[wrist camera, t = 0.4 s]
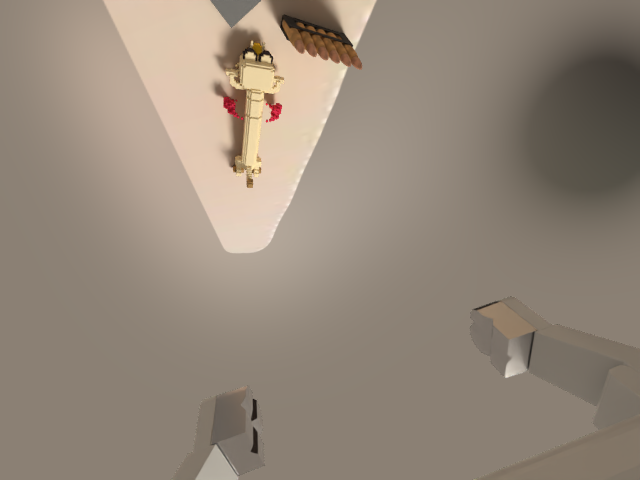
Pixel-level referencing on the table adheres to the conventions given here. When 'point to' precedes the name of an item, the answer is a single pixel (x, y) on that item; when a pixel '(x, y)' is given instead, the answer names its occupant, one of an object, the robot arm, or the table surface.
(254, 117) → the cat figure
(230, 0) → the rubber mat
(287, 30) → the ammunition clip
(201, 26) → the table surface
